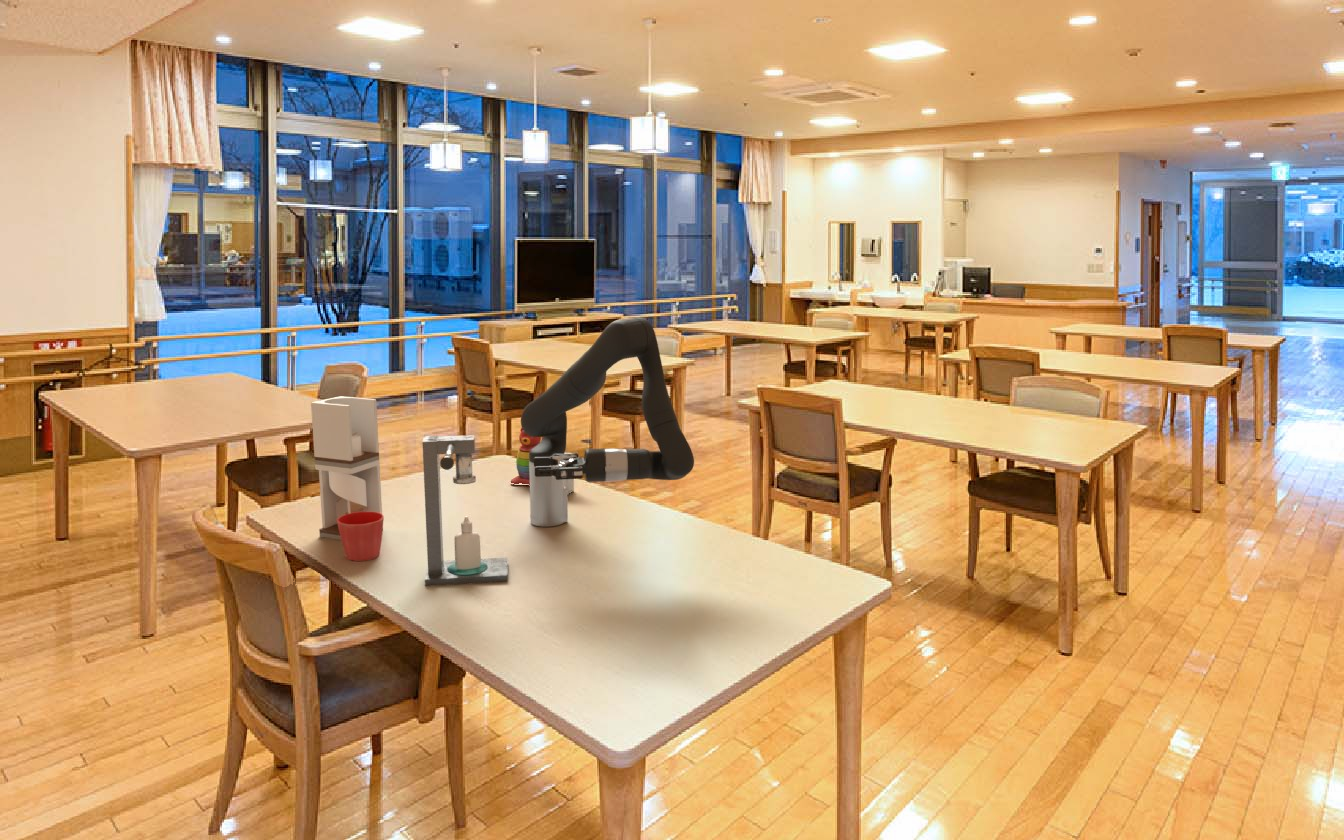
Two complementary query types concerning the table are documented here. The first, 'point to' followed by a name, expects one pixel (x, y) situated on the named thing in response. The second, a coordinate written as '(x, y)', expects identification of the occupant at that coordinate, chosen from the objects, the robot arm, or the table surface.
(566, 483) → the skincare box
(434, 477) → the arbor press
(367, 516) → the flower pot
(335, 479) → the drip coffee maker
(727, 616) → the table surface
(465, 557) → the eye dropper bottle
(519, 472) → the stacking bear
